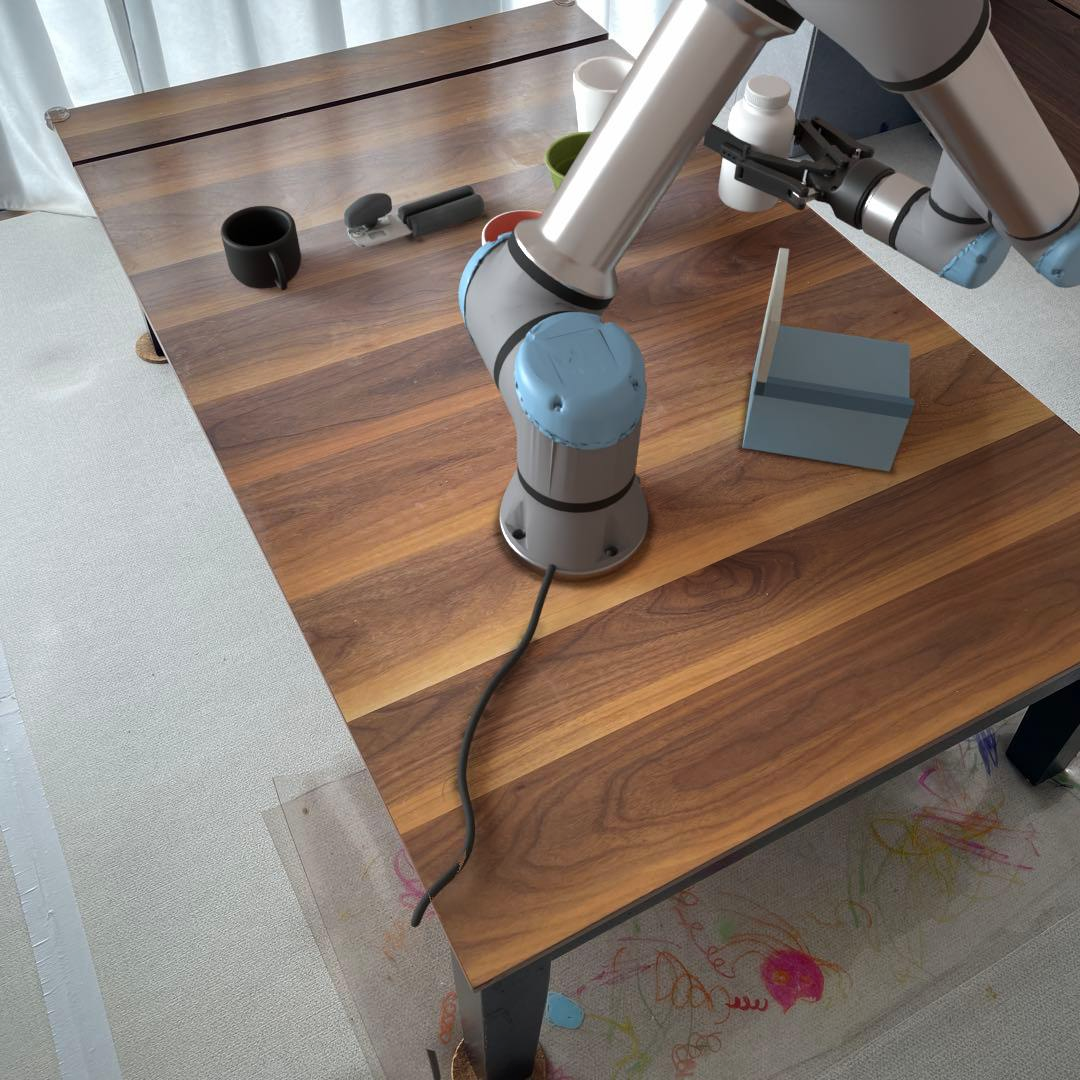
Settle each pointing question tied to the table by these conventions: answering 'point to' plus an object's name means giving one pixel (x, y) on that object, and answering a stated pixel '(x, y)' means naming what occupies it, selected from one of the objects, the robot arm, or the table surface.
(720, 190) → the pill bottle
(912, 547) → the table surface
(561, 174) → the plant pot
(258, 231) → the mug
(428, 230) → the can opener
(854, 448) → the bookend
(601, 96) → the foam cup
